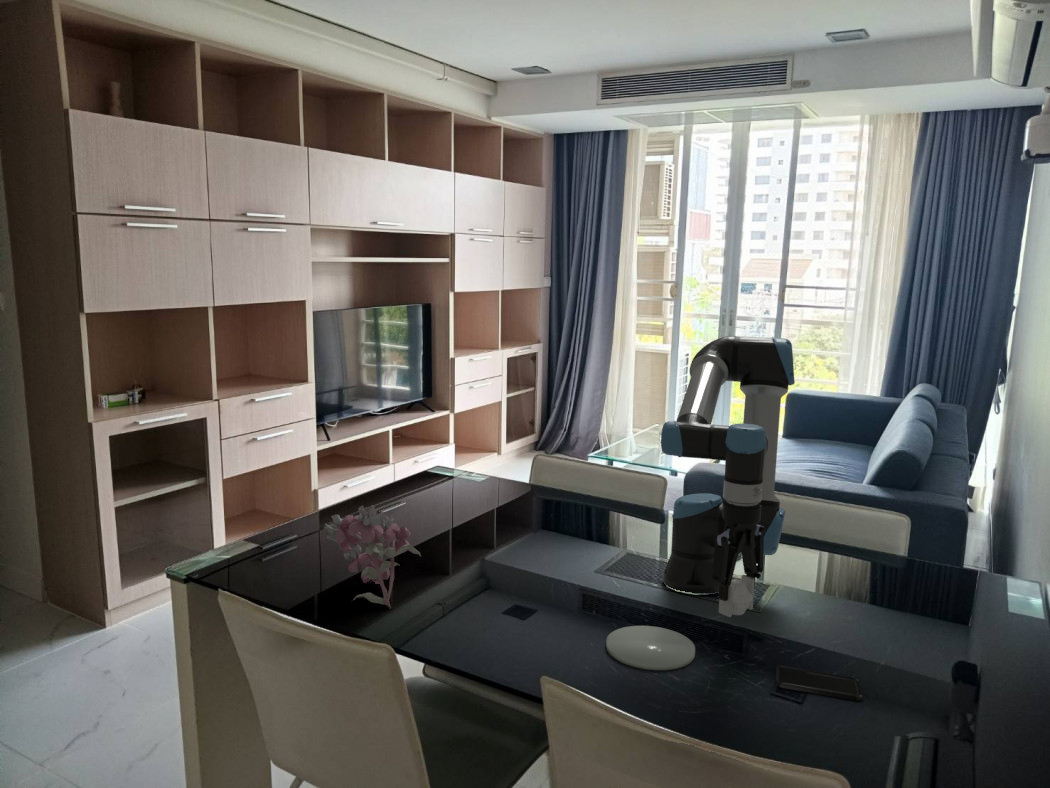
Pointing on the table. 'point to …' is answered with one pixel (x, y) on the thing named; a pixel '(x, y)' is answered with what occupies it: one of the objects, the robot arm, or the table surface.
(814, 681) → the phone
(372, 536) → the flower
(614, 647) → the ceramic plate
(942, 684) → the table surface
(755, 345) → the robot arm
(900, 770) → the table surface
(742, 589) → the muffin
